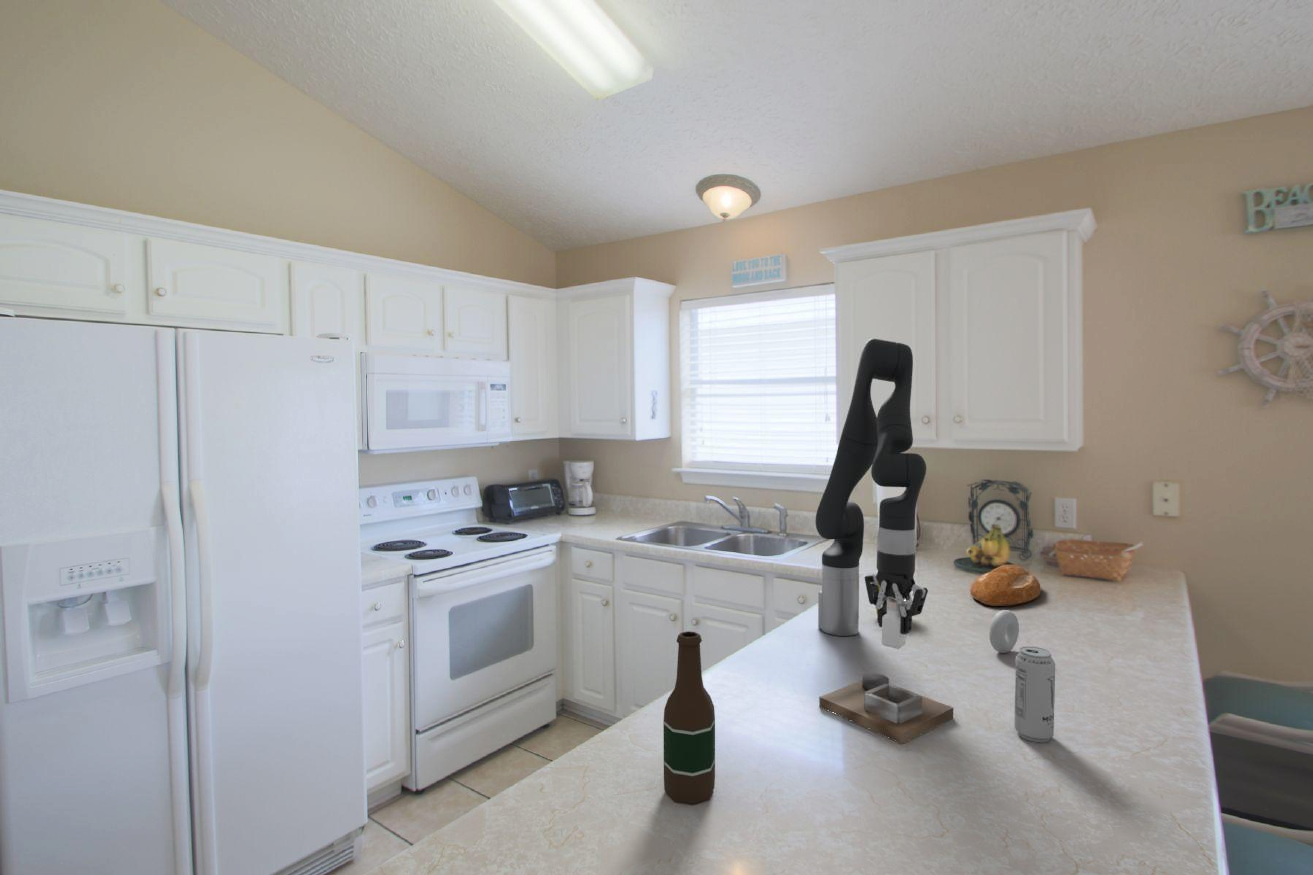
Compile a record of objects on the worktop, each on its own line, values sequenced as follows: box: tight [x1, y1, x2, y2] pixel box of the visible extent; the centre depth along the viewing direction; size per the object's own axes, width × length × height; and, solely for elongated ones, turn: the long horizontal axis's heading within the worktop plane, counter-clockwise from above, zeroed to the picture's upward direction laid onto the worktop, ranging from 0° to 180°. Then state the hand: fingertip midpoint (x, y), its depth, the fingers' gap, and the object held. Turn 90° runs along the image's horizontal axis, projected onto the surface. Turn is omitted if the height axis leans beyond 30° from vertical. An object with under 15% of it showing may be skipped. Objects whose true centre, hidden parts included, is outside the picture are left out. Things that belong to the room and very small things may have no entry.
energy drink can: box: [1013, 646, 1056, 743], centre depth 119 cm, size 6×6×15 cm
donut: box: [989, 609, 1020, 654], centre depth 159 cm, size 10×4×10 cm, turn 128°
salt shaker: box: [881, 598, 907, 650], centre depth 142 cm, size 4×4×10 cm
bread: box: [970, 564, 1041, 607], centre depth 207 cm, size 18×35×9 cm, turn 137°
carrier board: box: [818, 672, 954, 745], centre depth 128 cm, size 18×16×5 cm
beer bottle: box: [663, 631, 716, 806], centre depth 102 cm, size 8×8×24 cm
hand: (893, 629), depth 142 cm, fingers closed on salt shaker, 4 cm apart
